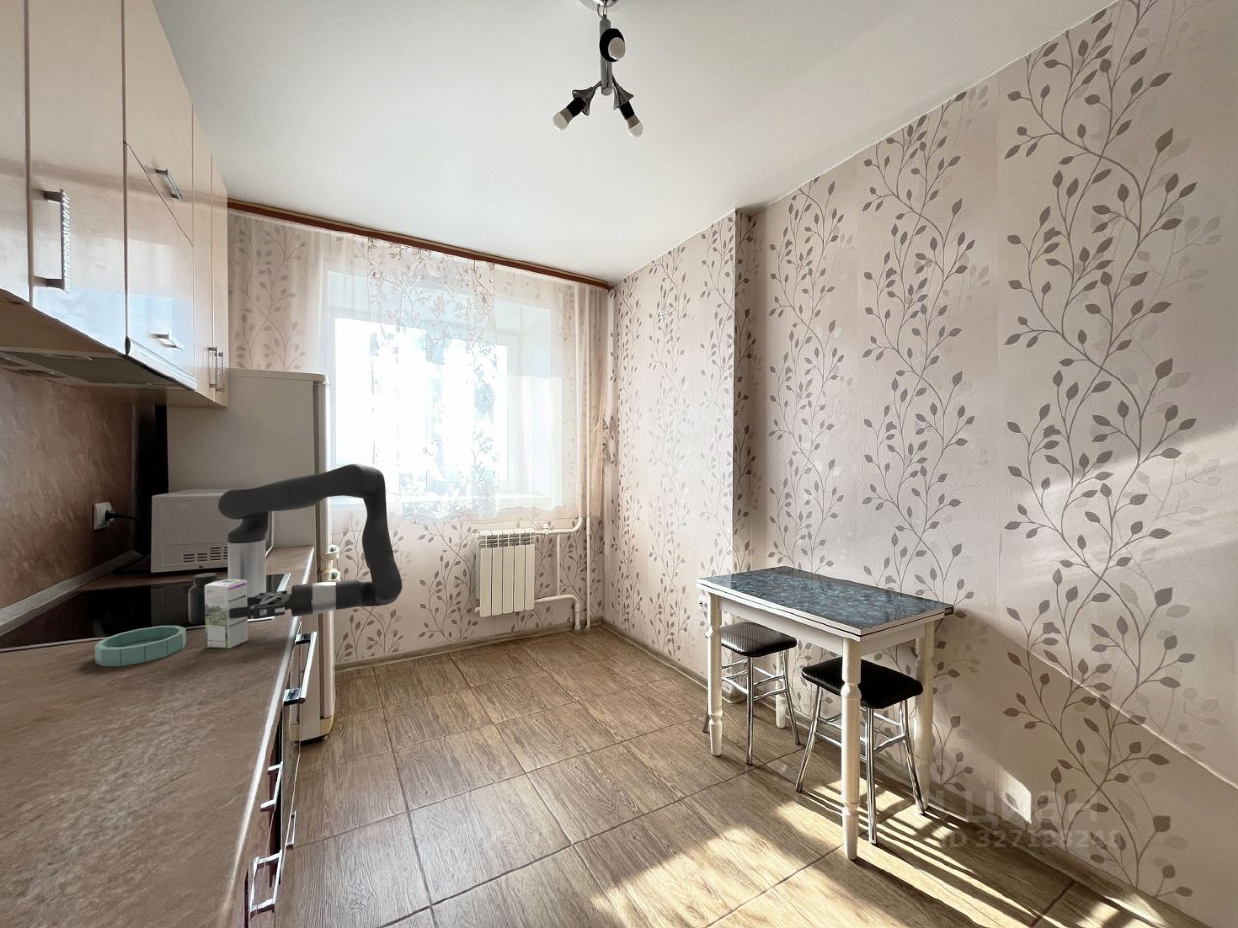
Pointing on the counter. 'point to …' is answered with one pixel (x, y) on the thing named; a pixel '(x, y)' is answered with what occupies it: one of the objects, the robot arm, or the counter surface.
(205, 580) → the supplement bottle
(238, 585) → the syrup box
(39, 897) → the counter surface
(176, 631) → the bowl
